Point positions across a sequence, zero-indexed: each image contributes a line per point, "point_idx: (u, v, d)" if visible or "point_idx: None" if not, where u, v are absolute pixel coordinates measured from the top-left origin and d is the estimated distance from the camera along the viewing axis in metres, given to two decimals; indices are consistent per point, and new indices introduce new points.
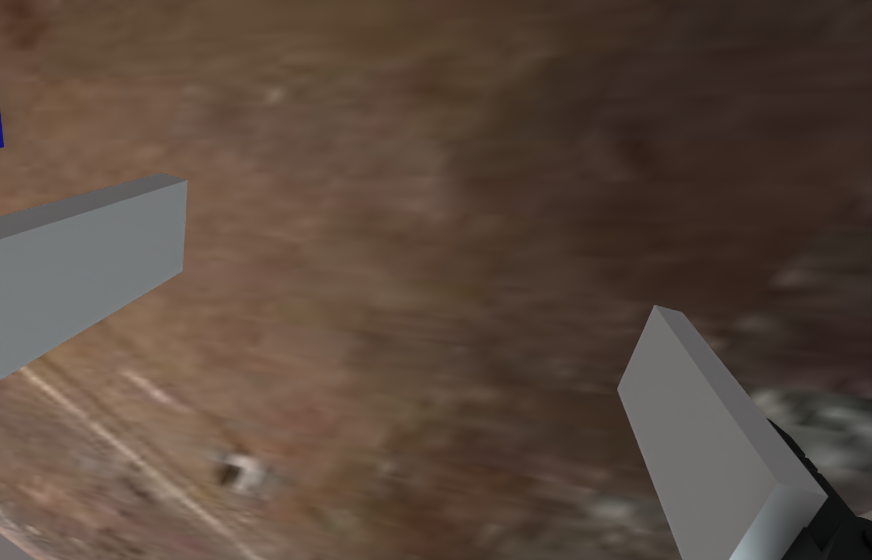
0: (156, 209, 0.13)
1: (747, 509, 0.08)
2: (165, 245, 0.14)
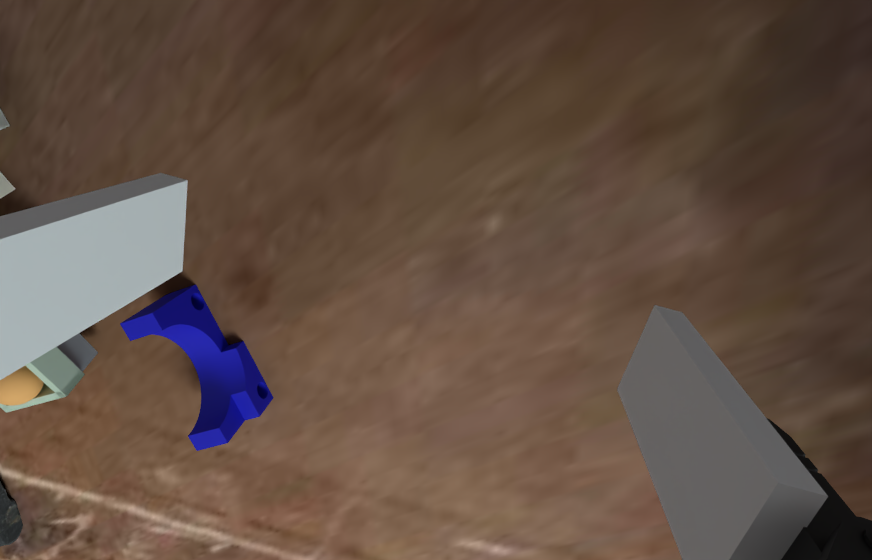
0: (156, 209, 0.13)
1: (747, 509, 0.08)
2: (165, 245, 0.14)
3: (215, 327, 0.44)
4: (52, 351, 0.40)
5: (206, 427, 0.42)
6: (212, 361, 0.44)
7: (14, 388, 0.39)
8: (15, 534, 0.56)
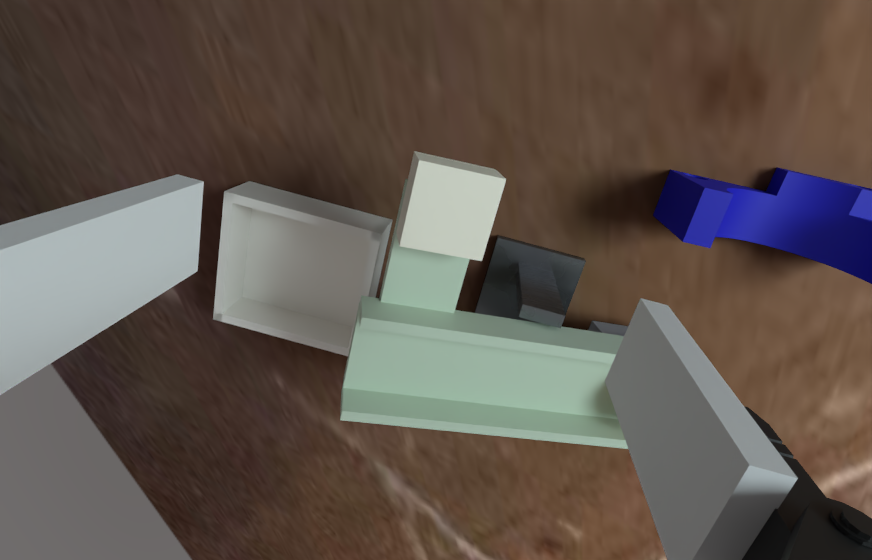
0: (175, 210, 0.13)
1: (721, 492, 0.08)
2: (182, 245, 0.14)
3: (736, 185, 0.32)
4: None
5: None
6: (777, 215, 0.31)
7: None
8: None
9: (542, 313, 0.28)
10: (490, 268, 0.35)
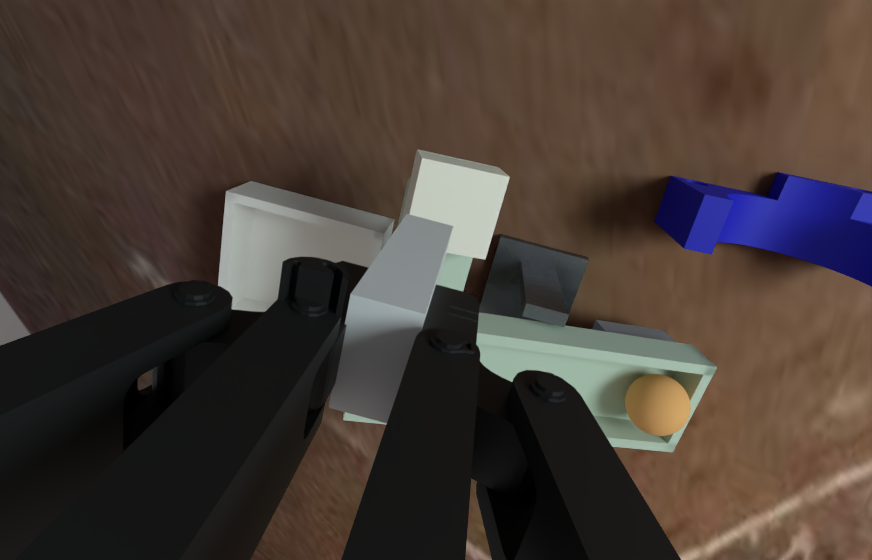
0: None
1: None
2: None
3: (737, 190, 0.32)
4: (651, 342, 0.30)
5: None
6: (778, 220, 0.31)
7: (673, 400, 0.28)
8: None
9: (545, 312, 0.28)
10: (493, 267, 0.35)
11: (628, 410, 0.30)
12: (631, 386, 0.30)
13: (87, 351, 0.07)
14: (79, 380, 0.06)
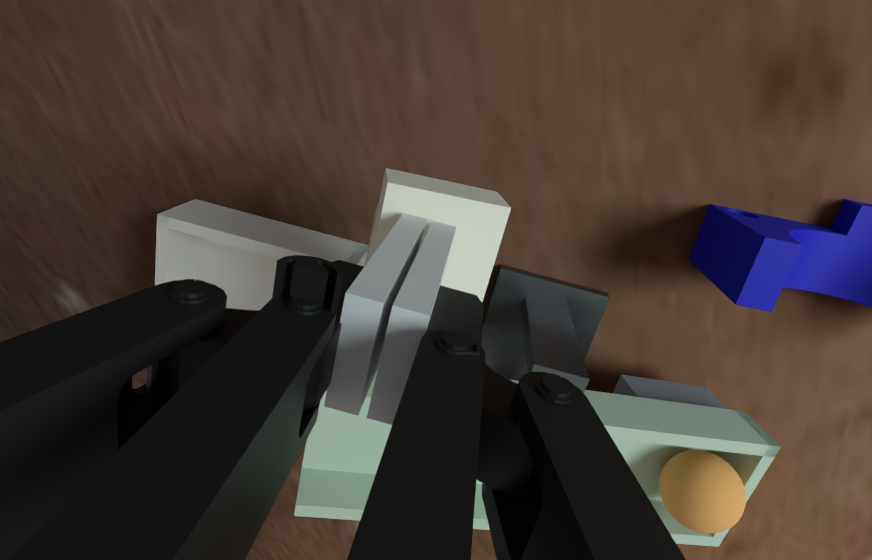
0: (417, 247, 0.15)
1: None
2: None
3: (793, 222, 0.25)
4: (693, 410, 0.24)
5: None
6: (847, 260, 0.25)
7: (725, 492, 0.22)
8: None
9: (559, 375, 0.22)
10: (491, 305, 0.29)
11: (664, 498, 0.23)
12: (667, 466, 0.24)
13: (81, 350, 0.07)
14: (73, 379, 0.06)
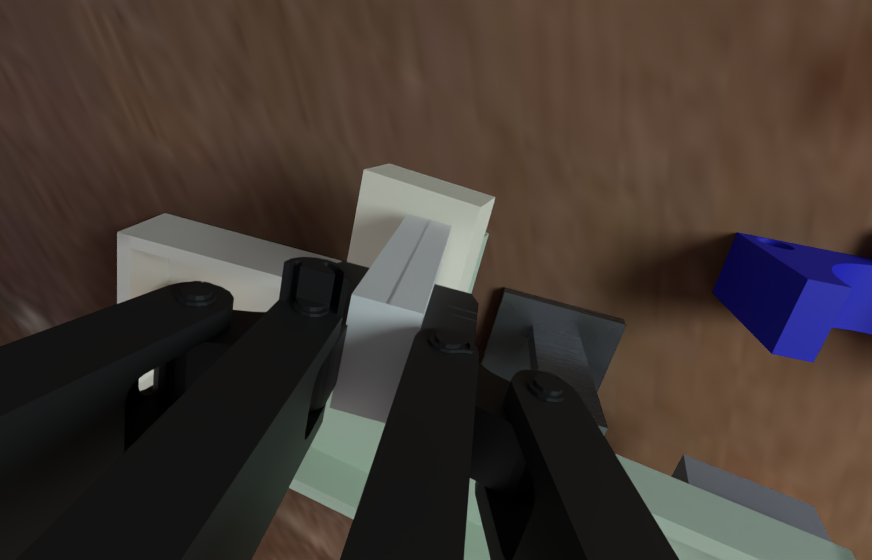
0: None
1: None
2: None
3: (832, 252, 0.23)
4: (755, 520, 0.18)
5: None
6: None
7: None
8: None
9: None
10: (494, 332, 0.26)
11: None
12: None
13: (89, 351, 0.07)
14: (80, 380, 0.06)
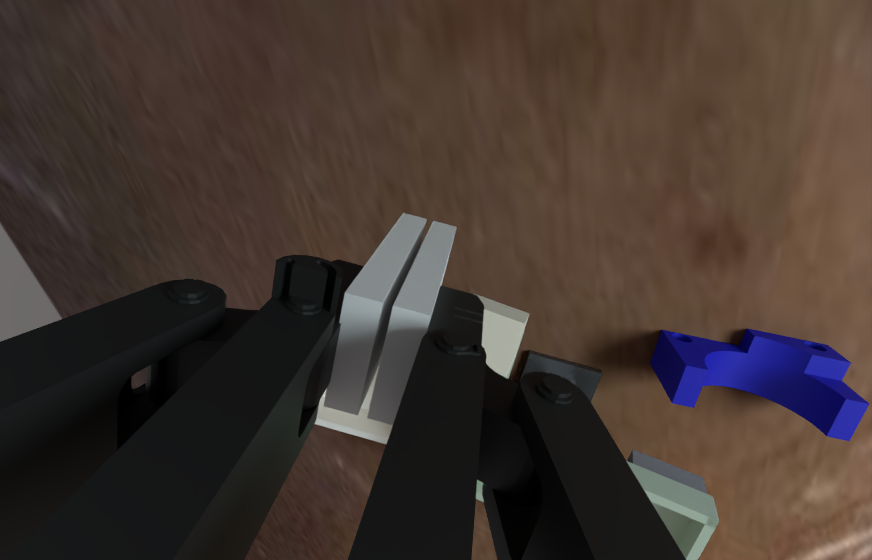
0: (416, 247, 0.15)
1: None
2: None
3: (715, 342, 0.40)
4: (664, 481, 0.34)
5: (830, 413, 0.35)
6: (748, 368, 0.39)
7: None
8: None
9: None
10: None
11: None
12: None
13: (80, 349, 0.07)
14: (73, 378, 0.06)
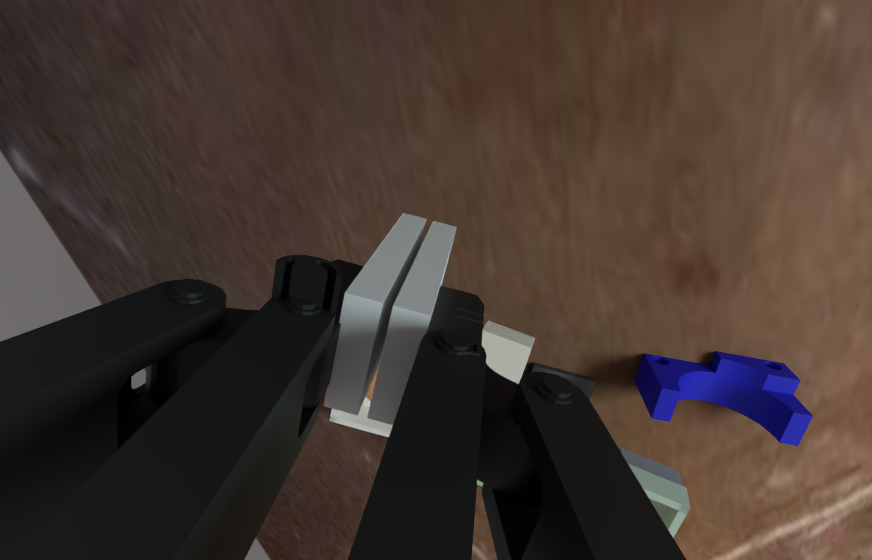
0: (416, 247, 0.15)
1: None
2: None
3: (689, 363, 0.47)
4: (646, 475, 0.41)
5: (782, 423, 0.43)
6: (717, 384, 0.46)
7: None
8: None
9: None
10: None
11: None
12: None
13: (80, 350, 0.07)
14: (73, 378, 0.06)
